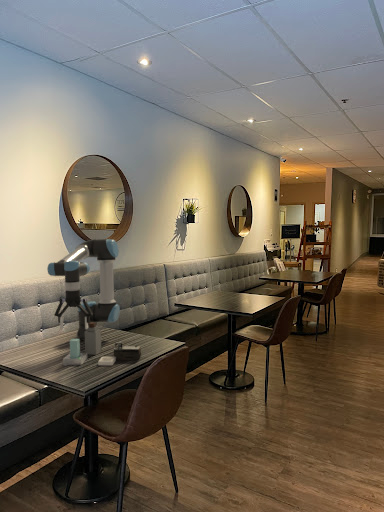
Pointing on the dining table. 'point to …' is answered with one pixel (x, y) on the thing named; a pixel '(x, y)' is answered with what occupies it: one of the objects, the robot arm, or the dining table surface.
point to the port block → (74, 360)
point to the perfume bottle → (93, 339)
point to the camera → (126, 352)
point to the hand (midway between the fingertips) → (74, 328)
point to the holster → (107, 361)
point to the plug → (74, 348)
